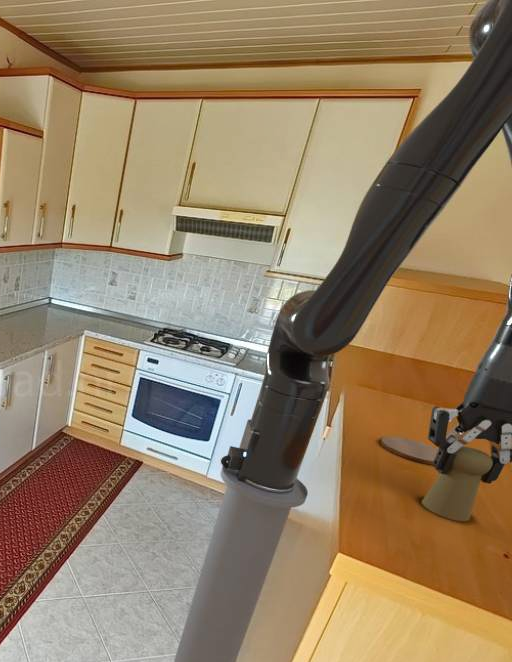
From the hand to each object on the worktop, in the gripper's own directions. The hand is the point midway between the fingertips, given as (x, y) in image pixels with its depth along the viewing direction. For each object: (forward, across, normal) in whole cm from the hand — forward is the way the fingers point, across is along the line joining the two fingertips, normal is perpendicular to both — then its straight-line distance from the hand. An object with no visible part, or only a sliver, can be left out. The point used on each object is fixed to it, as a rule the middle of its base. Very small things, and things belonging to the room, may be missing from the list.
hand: (461, 475), depth 77 cm
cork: (+7, 0, 0) cm, 7 cm away
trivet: (+6, +5, +25) cm, 26 cm away
